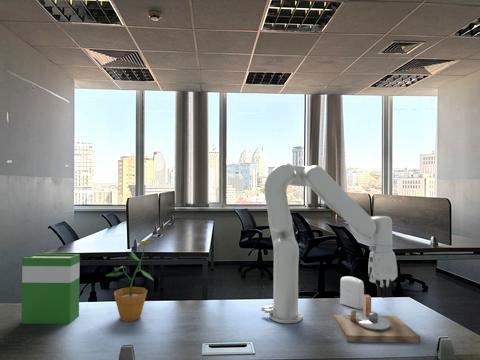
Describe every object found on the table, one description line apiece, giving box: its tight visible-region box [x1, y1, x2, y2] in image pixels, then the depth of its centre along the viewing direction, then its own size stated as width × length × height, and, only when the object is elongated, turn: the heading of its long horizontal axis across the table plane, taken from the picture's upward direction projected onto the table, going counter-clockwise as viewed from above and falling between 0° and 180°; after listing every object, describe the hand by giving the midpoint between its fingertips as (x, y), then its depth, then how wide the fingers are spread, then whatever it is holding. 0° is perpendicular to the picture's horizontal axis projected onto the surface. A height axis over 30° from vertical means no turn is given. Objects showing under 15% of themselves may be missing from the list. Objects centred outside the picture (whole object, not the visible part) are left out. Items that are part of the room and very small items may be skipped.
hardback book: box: [21, 253, 81, 325], centre depth 132 cm, size 18×7×24 cm, turn 90°
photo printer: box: [339, 275, 365, 310], centre depth 150 cm, size 10×4×12 cm, turn 39°
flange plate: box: [357, 294, 390, 331], centre depth 126 cm, size 14×11×8 cm
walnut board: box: [332, 308, 421, 343], centre depth 125 cm, size 24×18×6 cm
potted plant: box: [104, 240, 154, 322], centre depth 135 cm, size 18×19×30 cm
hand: (382, 296), depth 134 cm, fingers closed
